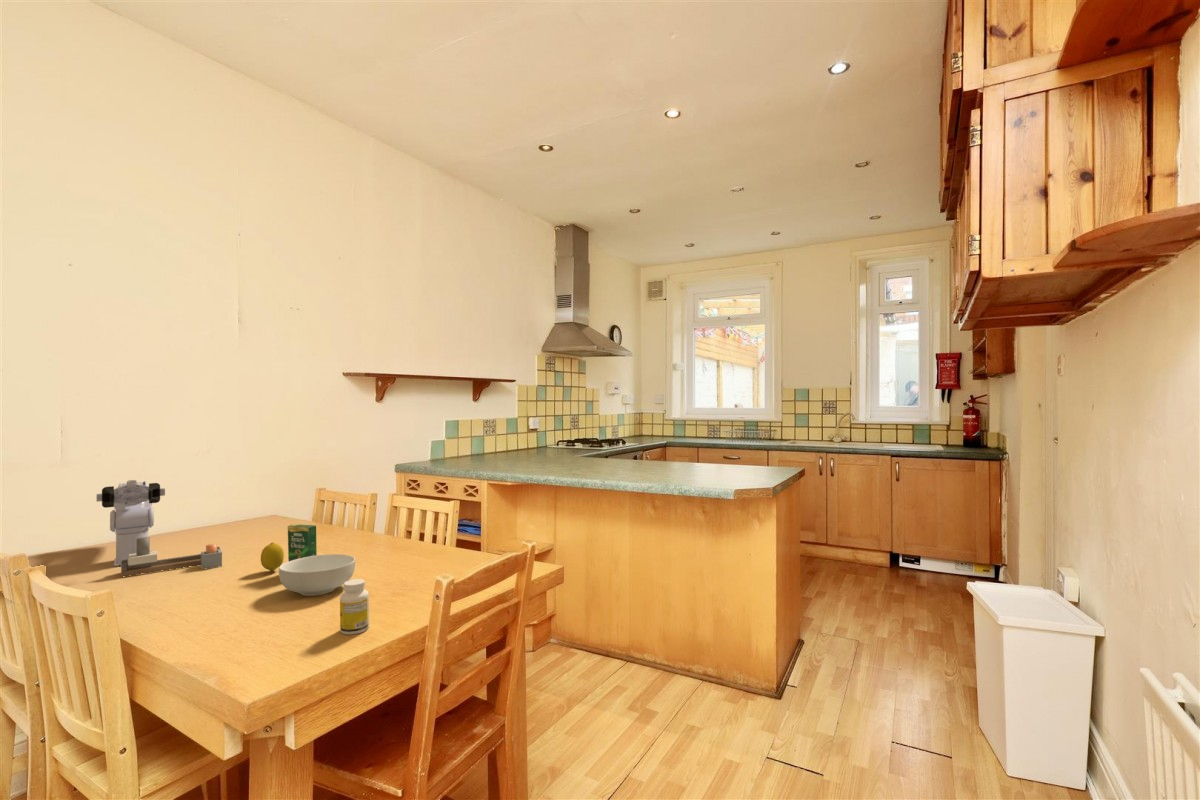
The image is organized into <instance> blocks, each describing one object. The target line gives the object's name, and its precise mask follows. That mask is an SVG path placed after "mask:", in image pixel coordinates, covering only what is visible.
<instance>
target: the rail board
mask: <svg viewBox="0 0 1200 800" xmlns="http://www.w3.org/2000/svg"><path fill="white" fill-rule="evenodd" d="M217 549H221V548H220V546H217ZM197 565H200V566H201V553H197V554H190V555H184V556H177V557H176V556H175V557H171V558H170V557H169V558H163V559H157V562H151V563H144V564H137V565H130V566H129V564H128V559H126V560H122V562H121V565H120V578H121V577H122V578H124V577H123V576H129V575H135V576H137V575H136V574H141V573H148V574H150V573H149V572H155V571H161V570H168V571H170V570H169V569H174V570H177V569H176V568H181V569H184V568H183V567H187V568H190V567H189V566H194V567H198V566H197ZM161 572H162V571H161ZM155 573H156V572H155ZM129 577H130V576H129Z"/></svg>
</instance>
